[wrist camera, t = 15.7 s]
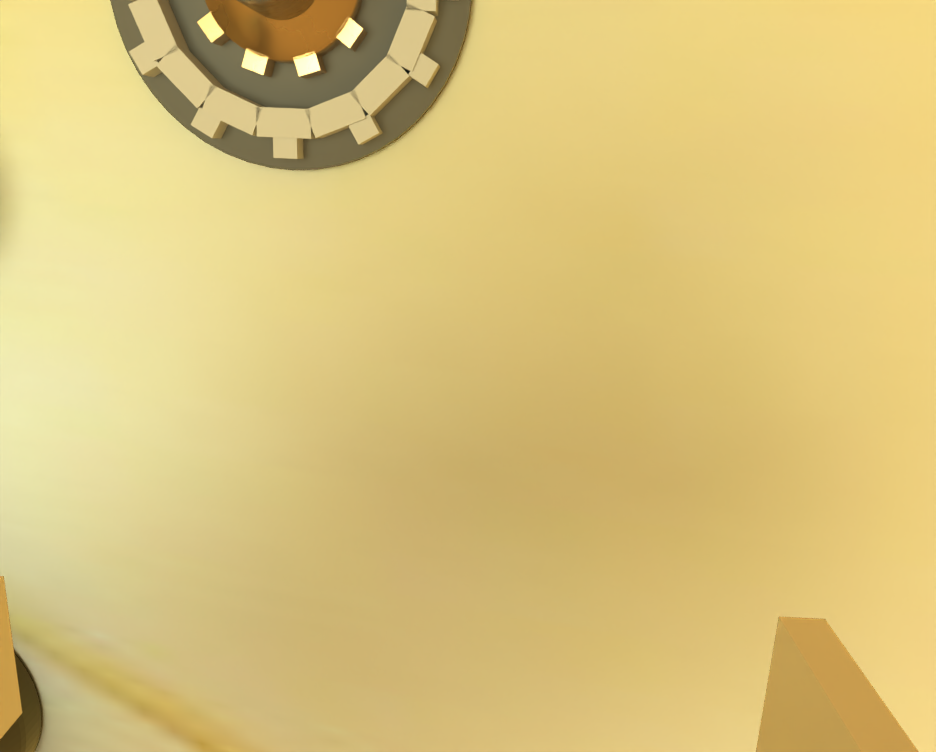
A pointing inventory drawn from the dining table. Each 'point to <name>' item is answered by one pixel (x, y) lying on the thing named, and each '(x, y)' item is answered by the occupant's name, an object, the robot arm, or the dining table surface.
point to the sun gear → (284, 31)
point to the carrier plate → (297, 81)
